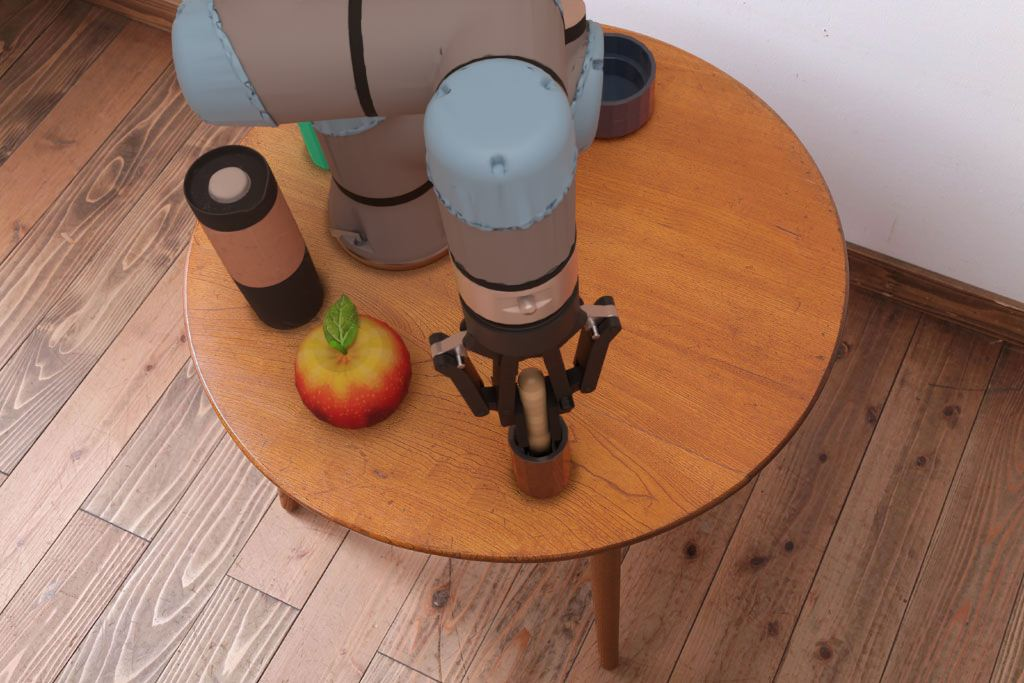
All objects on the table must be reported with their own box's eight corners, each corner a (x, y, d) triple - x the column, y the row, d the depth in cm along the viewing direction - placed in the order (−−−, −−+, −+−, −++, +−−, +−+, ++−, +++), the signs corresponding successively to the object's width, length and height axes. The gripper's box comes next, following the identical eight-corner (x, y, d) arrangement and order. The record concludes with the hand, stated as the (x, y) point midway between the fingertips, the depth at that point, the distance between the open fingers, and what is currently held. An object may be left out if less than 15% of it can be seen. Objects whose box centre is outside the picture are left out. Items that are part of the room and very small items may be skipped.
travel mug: (253, 271, 105) (184, 147, 88) (327, 263, 105) (272, 138, 87) (250, 336, 102) (177, 220, 84) (326, 328, 101) (269, 211, 84)
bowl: (552, 82, 114) (550, 43, 109) (639, 64, 115) (641, 24, 109) (573, 150, 110) (571, 113, 104) (663, 131, 110) (667, 93, 105)
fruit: (302, 445, 96) (272, 400, 87) (313, 343, 101) (286, 290, 92) (415, 442, 95) (397, 397, 86) (421, 340, 100) (404, 287, 91)
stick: (529, 461, 92) (514, 365, 75) (551, 456, 92) (540, 359, 75) (533, 481, 91) (519, 389, 74) (556, 476, 91) (546, 383, 74)
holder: (510, 453, 94) (501, 414, 86) (564, 442, 94) (561, 401, 86) (521, 504, 91) (513, 468, 83) (576, 492, 92) (574, 455, 84)
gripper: (407, 355, 61) (455, 491, 82) (652, 302, 61) (638, 450, 82) (389, 252, 64) (439, 407, 85) (621, 203, 65) (615, 369, 86)
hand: (537, 428), depth 84 cm, fingers closed on stick, 2 cm apart
